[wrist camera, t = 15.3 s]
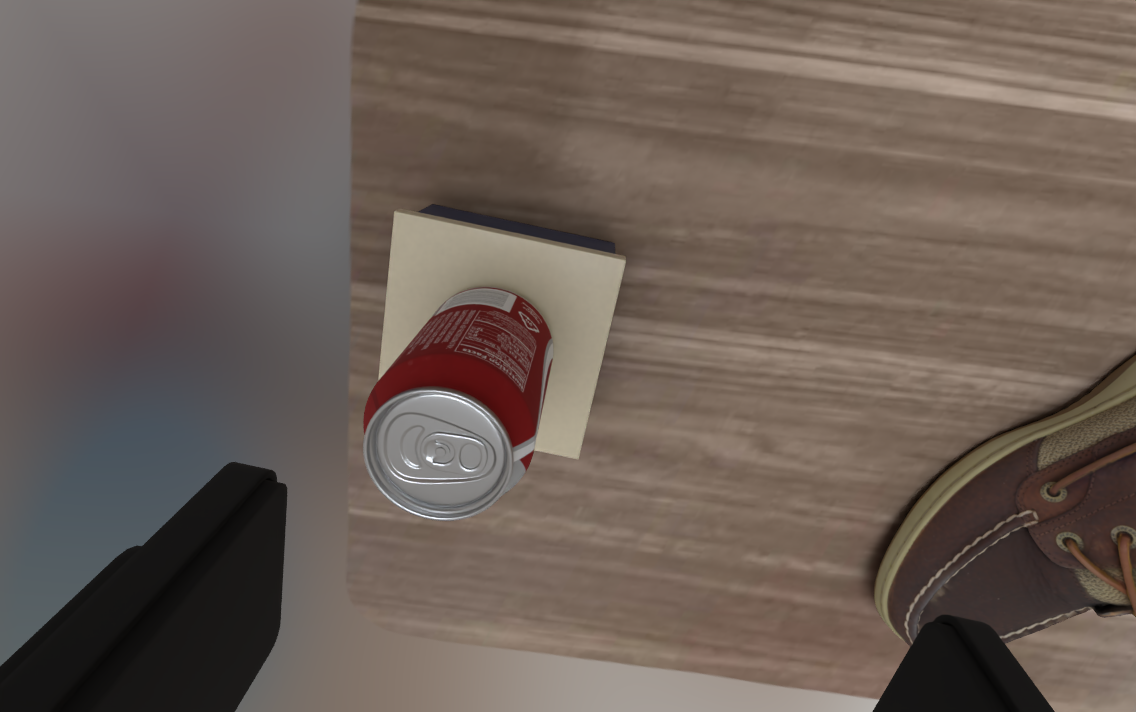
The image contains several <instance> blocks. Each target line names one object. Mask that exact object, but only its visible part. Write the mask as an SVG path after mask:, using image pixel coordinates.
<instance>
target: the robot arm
mask: <svg viewBox="0 0 1136 712" xmlns="http://www.w3.org/2000/svg"><path fill="white" fill-rule="evenodd" d="M286 508H287V487H286V485H285V484H283V483H278V482H277V477H276V473H275V472H274V471H273V470H269V469H265V468H260V467H255V466H250V465H246V464H241V463H237V462H231V463H229V464H227V465H226V466H224V467H223V468H222V469H221V470H220V471H219V472H218V473H217V474H216V475H215V476H214V477H213V478H212V479H211V480H210V481H209V482H208V483H207V484H206V485H205V486H204V487H203V488H202V489H201V490H200V491H199V492H198V493H197V494H195V495H194V496H193V497H192V498H191V499H190V500H189V501H188V502H187V503H186V504H185V505H184V506H183V507H182V508H181V509H180V510H179V511H178V512H177V513H176V514H175V515H174V516H173V517H172V518H171V519H170V520H169V521H168V522H167V523H166V524H165V525H163V526H162V528H160V529H159V530H158V531H157V532H156V533H155V534H154V535H153V536H152V537H151V538H150V539H149V540H148V541H147V542H146V543H145V544H144V545H143V546H134V547H132V548H129V549H127V550H126V551H124V552H123V553H121V554H120V555H119V556H118V557H117V558H115V559H114V560H113V561H112V562H111V563H110V564H109V565H108V566H107V567H106V568H104V569H103V570H102V571H101V572H100V573H99V574H98V575H97V576H96V577H95V578H94V579H93V580H92V581H91V582H90V583H89V584H87V585H86V586H85V587H84V589H82V590H81V591H80V592H79V593H78V594H77V595H76V596H75V597H74V598H73V599H72V600H70V601H69V602H68V603H67V604H66V605H65V606H64V607H63V608H62V609H61V610H60V611H59V612H58V613H57V614H56V615H55V616H54V617H52V618H51V619H50V620H49V621H48V622H47V623H46V624H45V625H44V626H43V627H42V628H41V629H40V630H39V631H38V632H36V634H34V635H33V636H32V637H31V638H30V639H29V640H28V641H27V642H26V643H25V644H24V645H23V646H22V647H21V648H19V649H18V650H17V651H16V652H15V653H14V654H13V655H12V656H11V657H10V658H9V659H8V660H7V661H6V662H5V663H4V664H2V665H1V666H0V712H235V710H236V709H237V707H238V705H239V704H240V702H241V700H242V699H243V697H244V695H245V694H246V692H247V690H248V689H249V687H250V685H251V684H252V682H253V680H254V679H255V677H256V675H257V674H258V672H259V670H260V669H261V667H262V665H263V663H264V662H265V661H266V659H267V657H268V656H269V654H270V652H271V650H272V648H273V646H274V644H275V642H276V639H277V636H278V632H279V628H280V620H281V602H282V582H283V564H284V545H285V526H286ZM873 712H1055V711H1054V710H1053V709H1052V707H1051V706H1050V705H1049V703H1048V702H1047V701H1046V699H1045V698H1044V696H1043V695H1042V694H1041V692H1040V691H1039V690H1038V688H1037V687H1036V686H1035V684H1034V683H1033V682H1032V680H1031V679H1030V677H1029V676H1028V675H1027V673H1026V672H1025V671H1024V669H1023V668H1022V667H1021V665H1020V664H1019V663H1018V661H1017V660H1016V658H1015V657H1014V656H1013V654H1012V653H1011V652H1010V650H1009V649H1008V648H1007V646H1006V645H1005V644H1004V642H1003V641H1002V639H1001V638H1000V637H999V635H998V634H997V633H996V631H995V630H994V629H993V628H992V627H991V626H990V625H988V624H986V623H984V622H980V621H975V620H971V619H966V618H961V617H957V616H952V615H940V616H938V617H936V618H935V620H934V621H933V622H928V623H926V624H925V625H924V626H923V627H922V628H921V630H920V632H919V633H918V635H917V637H916V639H915V640H914V642H913V644H912V645H911V647H910V649H909V651H908V652H907V654H906V656H905V657H904V659H903V661H902V662H901V664H900V666H899V668H898V669H897V671H896V673H895V674H894V676H893V678H892V679H891V681H890V683H889V685H888V686H887V688H886V690H885V691H884V693H883V695H882V696H881V698H880V700H879V702H878V703H877V705H876V707H875V708H874V710H873Z"/></svg>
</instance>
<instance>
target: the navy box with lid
mask: <svg viewBox="0 0 1136 712" xmlns="http://www.w3.org/2000/svg"><path fill="white" fill-rule="evenodd" d="M625 264H626V257H625V256H622V255H618V254H616V253H615V243H613V242H608V241H603V240H599V239H594V238H589V237H584V236H580V235H575V234H570V233H566V232H561V231H556V230H552V229H547V228H542V227H537V226H533V225H528V224H523V223H519V222H514V221H509V220H505V219H500V218H495V217H490V216H486V215H481V214H476V213H472V212H467V211H462V210H458V209H453V208H448V207H443V206H439V205H434V204H431V205H430V206H428V207H426V208H424V209H422V210H421V211H419V212H415V211H410V210H406V209H398V210H396V211H395V212H394V220H393V230H392V241H391V251H390V262H389V273H388V283H387V294H386V304H385V315H384V325H383V336H382V346H381V357H380V367H379V378H378V381H379V380H380V378H381V377H382V376H383V375H384V374H385V372H386V371H387V370H388V369H389V367H390V366H391V365H392V364H393V363H394V361H395V360H396V359H397V358H398V357H399V355H400V354H401V353H402V352H403V351H404V349H405V348H406V347H407V346H408V345H409V343H410V342H411V341H412V340H413V339H414V337H415V336H416V335H417V334H418V333H419V331H420V330H421V329H422V328H423V326H424V325H425V324H426V323H427V322H428V320H429V319H430V318H431V317H432V316H433V314H434V313H435V312H436V311H437V310H438V308H439V307H440V306H441V305H442V304H443V303H444V302H445V301H446V300H448V299H449V298H450V297H452V296H453V295H455V294H457V293H459V292H461V291H464V290H466V289H470V288H475V287H484V286H487V287H498V288H503V289H506V290H509V291H512V292H514V293H516V294H518V295H520V296H522V297H523V298H525V299H526V300H528V301H529V302H530V303H531V304H533V305H534V306H535V307H536V308H537V310H538V311H539V312H540V313H541V314H542V316H543V317H544V319H545V321H546V322H547V324H548V327H549V329H550V332H551V335H552V340H553V361H552V365H551V370H550V375H549V380H548V385H547V390H546V395H545V399H544V404H543V409H542V414H541V419H540V424H539V429H538V434H537V438H536V443H535V448H534V450H535V451H540V452H545V453H550V454H555V455H559V456H564V457H569V458H574V459H579V455H580V451H581V447H582V442H583V438H584V434H585V430H586V426H587V422H588V418H589V413H590V409H591V405H592V401H593V397H594V393H595V389H596V384H597V380H598V376H599V372H600V368H601V364H602V359H603V355H604V351H605V347H606V343H607V339H608V335H609V330H610V326H611V322H612V318H613V314H614V310H615V306H616V301H617V297H618V293H619V289H620V285H621V281H622V276H623V272H624V268H625Z"/></svg>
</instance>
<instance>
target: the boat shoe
mask: <svg viewBox="0 0 1136 712" xmlns="http://www.w3.org/2000/svg"><path fill="white" fill-rule="evenodd" d="M874 601H875V605H876V608H877V611H878V613H879V615H880V616H881V618H882V619H883V620H884V622H885V623H886V624H887V625H888V627H889V628H890V629H891V630H892V631H893V632H894V633H895V634H896V635H897V636H898V637H900V638H901V639H902V640H904V641H905V642H906V643H907V644H908V645H910V646H911V645H912V644H913V642H914V640H915V639H916V637H917V635H918V633H919V632H920V630H921V628H922V627H923V626H924V625H925V624H926V623H928V622H933V621H934V620H935V618H936V617H938V616H940V615H952V616H957V617H961V618H966V619H971V620H975V621H980V622H984V623H986V624H988V625H990V626H991V627H992V628H993V629H994V630H995V631H996V633H997V634H998V635H999V637H1000V638H1001V639H1002V641H1003V642H1004V644H1005V643H1008V642H1010V641H1013V640H1015V639H1018V638H1021V637H1023V636H1026V635H1029V634H1032V633H1034V632H1037V631H1040V630H1042V629H1045V628H1048V627H1049V626H1051V625H1054V624H1056V623H1059V622H1062V621H1064V620H1066V619H1068V618H1071V617H1073V616H1076V615H1078V614H1081V613H1084V612H1086V611H1088V610H1090V609H1093V610H1094V611H1095V612H1096V613H1097V615H1098V616H1100V617H1104V618H1105V617H1113V616H1121V615H1126V614H1133V615H1134V616H1135V617H1136V355H1135V356H1133V357H1132V358H1130V359H1129V360H1128V361H1127V362H1125V363H1124V364H1123V365H1121V366H1120V367H1119V368H1118V369H1116V370H1115V371H1114V372H1112V373H1111V374H1110V375H1109V376H1108V377H1107V378H1106V379H1105V380H1103V381H1102V382H1101V383H1100V384H1099V385H1098V386H1096V387H1095V388H1094V389H1093V390H1092V391H1091V393H1089V394H1087V395H1085V396H1083V397H1082V398H1081V399H1080V400H1079V401H1077V402H1075V403H1074V404H1072V405H1070V406H1069V407H1068V408H1067V409H1064V410H1061V411H1059V412H1058V413H1056V414H1054V415H1052V416H1049V417H1046V418H1044V419H1042V420H1040V421H1036V422H1033V423H1030V424H1028V425H1026V426H1022V427H1019V428H1016V429H1014V430H1013V431H1009V432H1006V433H1003V434H1001V435H999V436H997V437H994V438H992V439H990V440H989V441H987V442H985V443H984V444H982V445H980V446H979V447H977V448H976V449H974V450H973V451H971V452H970V453H968V454H967V455H965V456H964V457H963V458H961V459H960V460H959V461H958V462H956V463H955V464H954V465H952V466H951V467H950V468H949V469H948V470H946V471H945V472H944V473H943V474H942V475H941V476H940V477H939V478H938V479H937V480H936V481H935V482H934V483H933V484H932V485H931V486H930V487H929V488H928V489H927V490H926V491H925V492H924V494H923V495H922V496H921V497H920V498H919V499H918V501H917V502H916V503H915V504H914V506H913V507H912V509H911V510H910V512H909V513H908V514H907V516H906V518H905V519H904V521H903V523H902V524H901V526H900V527H899V529H898V530H897V532H896V534H895V536H894V537H893V539H892V541H891V543H890V545H889V547H888V548H887V550H886V553H885V555H884V557H883V559H882V562H881V564H880V567H879V569H878V573H877V576H876V580H875V585H874Z"/></svg>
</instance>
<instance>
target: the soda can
mask: <svg viewBox="0 0 1136 712" xmlns="http://www.w3.org/2000/svg"><path fill="white" fill-rule="evenodd" d="M552 361H553V340H552V335H551V332H550V329H549V327H548V324H547V322H546V321H545V319H544V317H543V316H542V314H541V313H540V312H539V311H538V310H537V308H536V307H535V306H534V305H533V304H531V303H530V302H529V301H528V300H526V299H525V298H523V297H522V296H520V295H518V294H516V293H514V292H512V291H509V290H506V289H503V288H498V287H487V286H484V287H475V288H470V289H466V290H464V291H461V292H459V293H457V294H455V295H453V296H452V297H450V298H449V299H448V300H446V301H445V302H444V303H443V304H442V305H441V306H440V307H439V308H438V310H437V311H436V312H435V313H434V314H433V316H432V317H431V318H430V319H429V320H428V322H427V323H426V324H425V325H424V326H423V328H422V329H421V330H420V331H419V333H418V334H417V335H416V336H415V337H414V339H413V340H412V341H411V342H410V343H409V345H408V346H407V347H406V348H405V349H404V351H403V352H402V353H401V354H400V355H399V357H398V358H397V359H396V360H395V361H394V363H393V364H392V365H391V366H390V367H389V369H388V370H387V371H386V372H385V374H384V375H383V376H382V377H381V378H380V380H379V381H378V382H377V383H376V385H375V386H374V388H373V390H372V391H371V394H370V396H369V398H368V401H367V404H366V407H365V412H364V435H365V436H364V442H363V454H364V461H365V465H366V468H367V471H368V473H369V475H370V477H371V479H372V481H373V482H374V484H375V485H376V487H377V488H378V489H379V490H380V492H381V493H382V494H383V495H384V496H385V497H386V498H387V499H389V500H390V501H391V502H392V503H394V504H395V505H396V506H398V507H399V508H401V509H403V510H405V511H407V512H409V513H411V514H413V515H416V516H419V517H422V518H426V519H431V520H438V521H454V520H461V519H465V518H469V517H472V516H475V515H477V514H479V513H481V512H483V511H485V510H486V509H488V508H489V507H491V506H492V505H493V504H494V503H495V502H496V501H497V500H498V499H499V498H500V497H501V496H502V495H503V494H505V493H506V492H508V491H509V490H510V489H511V488H512V487H514V486H515V485H516V483H517V482H518V481H519V480H520V479H521V478H522V476H523V475H524V473H525V472H526V470H527V468H528V466H529V464H530V462H531V459H532V456H533V453H534V448H535V443H536V438H537V434H538V429H539V424H540V419H541V414H542V409H543V404H544V399H545V395H546V390H547V385H548V380H549V375H550V370H551V365H552Z"/></svg>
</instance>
